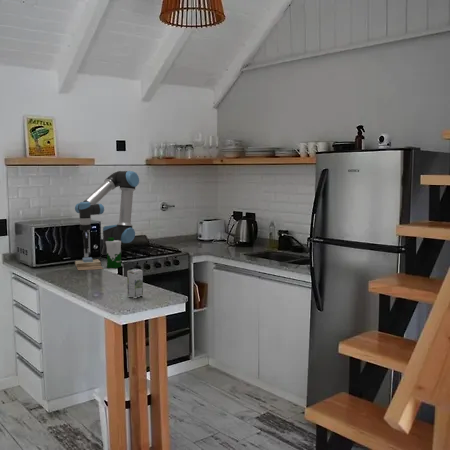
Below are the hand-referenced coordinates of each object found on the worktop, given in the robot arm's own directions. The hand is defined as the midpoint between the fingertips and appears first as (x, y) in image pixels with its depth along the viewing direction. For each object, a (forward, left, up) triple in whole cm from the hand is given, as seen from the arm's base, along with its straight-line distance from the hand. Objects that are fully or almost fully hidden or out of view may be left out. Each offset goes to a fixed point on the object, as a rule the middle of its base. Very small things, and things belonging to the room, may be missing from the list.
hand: (86, 257), depth 380 cm
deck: (+6, 0, -5) cm, 8 cm away
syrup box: (+108, +13, -5) cm, 109 cm away
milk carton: (+19, +16, -5) cm, 26 cm away
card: (+5, 0, -2) cm, 6 cm away
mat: (+17, 0, -5) cm, 18 cm away
